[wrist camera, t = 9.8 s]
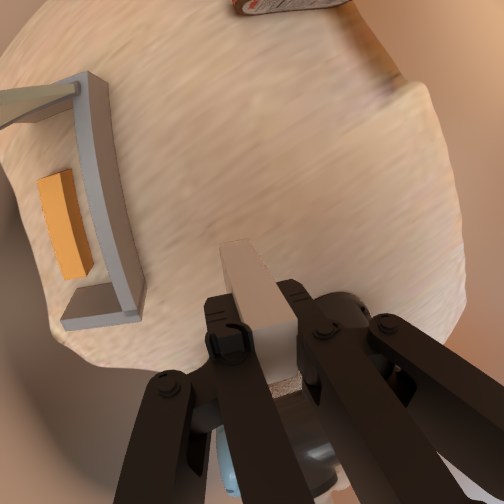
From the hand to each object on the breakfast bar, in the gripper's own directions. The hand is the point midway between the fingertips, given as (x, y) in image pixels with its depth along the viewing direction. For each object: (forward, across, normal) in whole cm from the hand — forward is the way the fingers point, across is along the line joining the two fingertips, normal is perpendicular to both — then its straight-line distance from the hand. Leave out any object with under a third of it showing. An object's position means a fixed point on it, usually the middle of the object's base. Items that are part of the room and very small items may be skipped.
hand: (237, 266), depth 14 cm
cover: (0, +15, -11) cm, 18 cm away
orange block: (+19, +17, 0) cm, 25 cm away
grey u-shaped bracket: (+18, +14, -2) cm, 23 cm away
